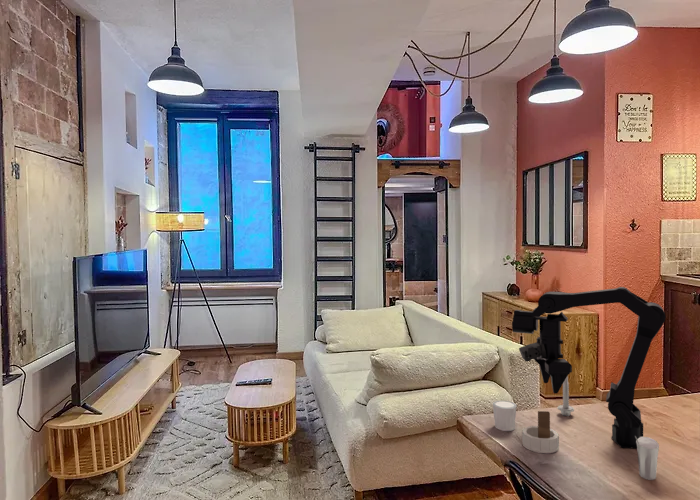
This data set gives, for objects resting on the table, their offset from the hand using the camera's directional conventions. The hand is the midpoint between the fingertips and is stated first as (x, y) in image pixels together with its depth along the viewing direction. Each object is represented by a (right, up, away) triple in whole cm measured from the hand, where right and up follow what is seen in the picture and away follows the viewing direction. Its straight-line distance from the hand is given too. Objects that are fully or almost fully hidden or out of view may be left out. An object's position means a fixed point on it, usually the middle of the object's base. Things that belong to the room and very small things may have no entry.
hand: (550, 388), depth 139 cm
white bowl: (-7, -13, -10) cm, 18 cm away
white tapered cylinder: (-12, -13, +3) cm, 18 cm away
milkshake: (+11, -13, -27) cm, 32 cm away
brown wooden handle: (-6, -12, -10) cm, 17 cm away
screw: (+10, -12, +12) cm, 19 cm away
